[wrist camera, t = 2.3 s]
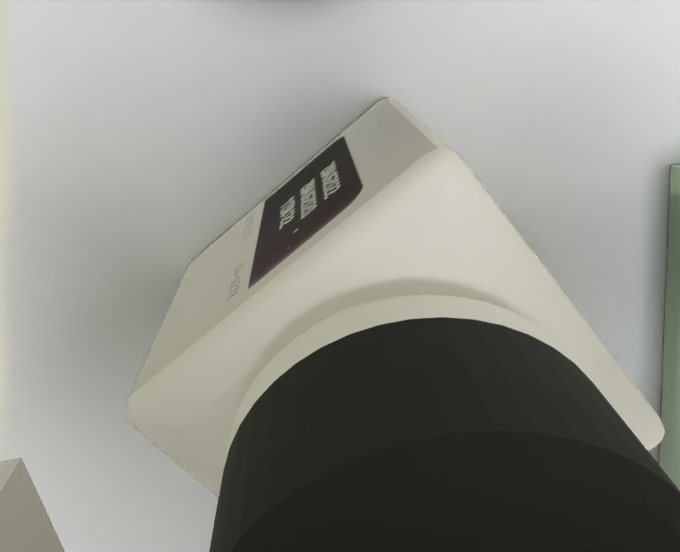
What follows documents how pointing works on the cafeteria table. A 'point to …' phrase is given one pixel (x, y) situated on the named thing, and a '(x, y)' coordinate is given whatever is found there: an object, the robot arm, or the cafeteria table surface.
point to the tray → (672, 340)
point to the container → (397, 373)
